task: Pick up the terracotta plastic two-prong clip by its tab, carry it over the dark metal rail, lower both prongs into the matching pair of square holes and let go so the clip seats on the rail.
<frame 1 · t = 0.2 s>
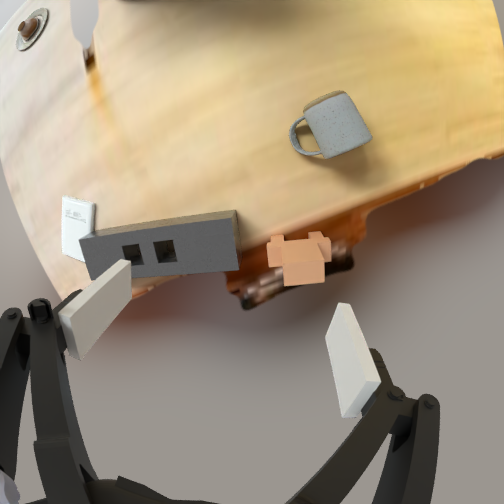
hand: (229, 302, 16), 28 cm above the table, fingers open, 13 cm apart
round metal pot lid: (33, 29, 29), on the table
ceramic mug: (324, 131, 37), on the table
external hard drive: (80, 227, 47), on the table
rail: (159, 242, 46), on the table
clip: (296, 240, 44), on the table
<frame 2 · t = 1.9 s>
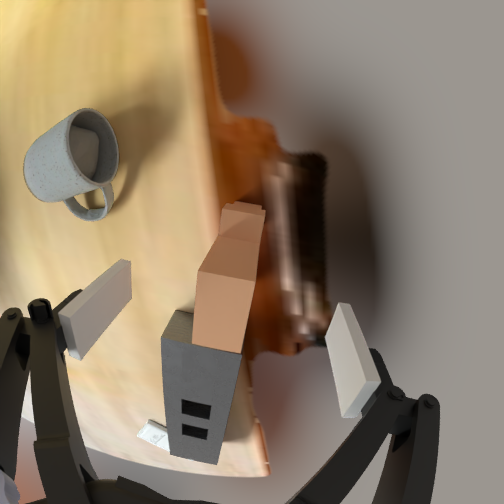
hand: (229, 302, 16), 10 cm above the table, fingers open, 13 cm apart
ceramic mug: (94, 167, 24), on the table
external hard drive: (173, 437, 41), on the table
rail: (202, 394, 34), on the table
clip: (241, 244, 26), on the table
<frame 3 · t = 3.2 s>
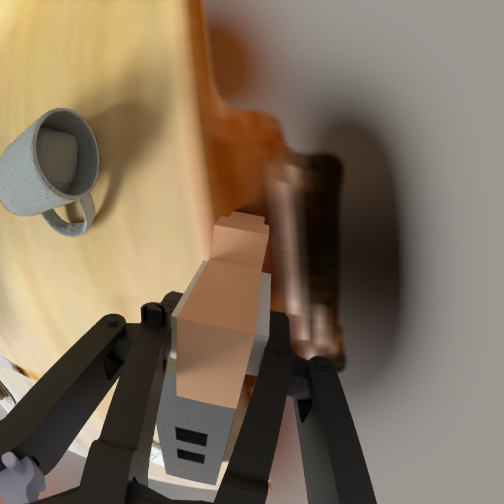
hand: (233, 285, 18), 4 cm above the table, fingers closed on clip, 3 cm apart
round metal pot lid: (2, 386, 42), on the table
ceramic mug: (74, 174, 21), on the table
external hard drive: (170, 454, 38), on the table
rail: (198, 417, 30), on the table
clip: (240, 262, 22), on the table, touching gripper
when the fingers open (7 cm above the table, at t = 9.2 s): clip drops 2 cm, resting on rail.
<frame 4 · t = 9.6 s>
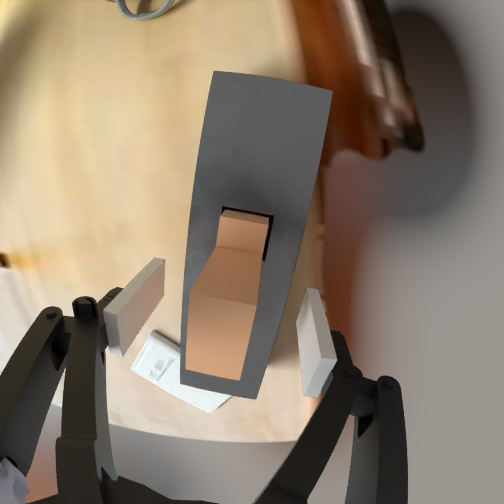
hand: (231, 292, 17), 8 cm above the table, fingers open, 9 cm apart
external hard drive: (185, 370, 32), on the table
rail: (244, 249, 25), on the table
clip: (242, 253, 24), point 1 cm above the table, touching rail
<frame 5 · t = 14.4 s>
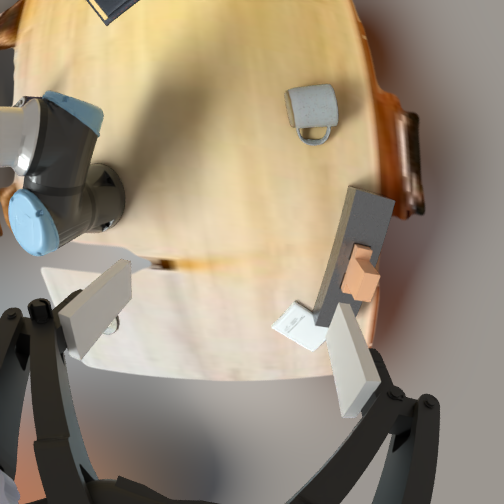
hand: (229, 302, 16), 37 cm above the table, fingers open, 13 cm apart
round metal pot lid: (101, 314, 65), on the table
flask: (39, 110, 45), on the table
ceramic mug: (311, 116, 45), on the table
external hard drive: (303, 325, 61), on the table
rail: (348, 257, 53), on the table
clip: (349, 259, 52), point 1 cm above the table, touching rail
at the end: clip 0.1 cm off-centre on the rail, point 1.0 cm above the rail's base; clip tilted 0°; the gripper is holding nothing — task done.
